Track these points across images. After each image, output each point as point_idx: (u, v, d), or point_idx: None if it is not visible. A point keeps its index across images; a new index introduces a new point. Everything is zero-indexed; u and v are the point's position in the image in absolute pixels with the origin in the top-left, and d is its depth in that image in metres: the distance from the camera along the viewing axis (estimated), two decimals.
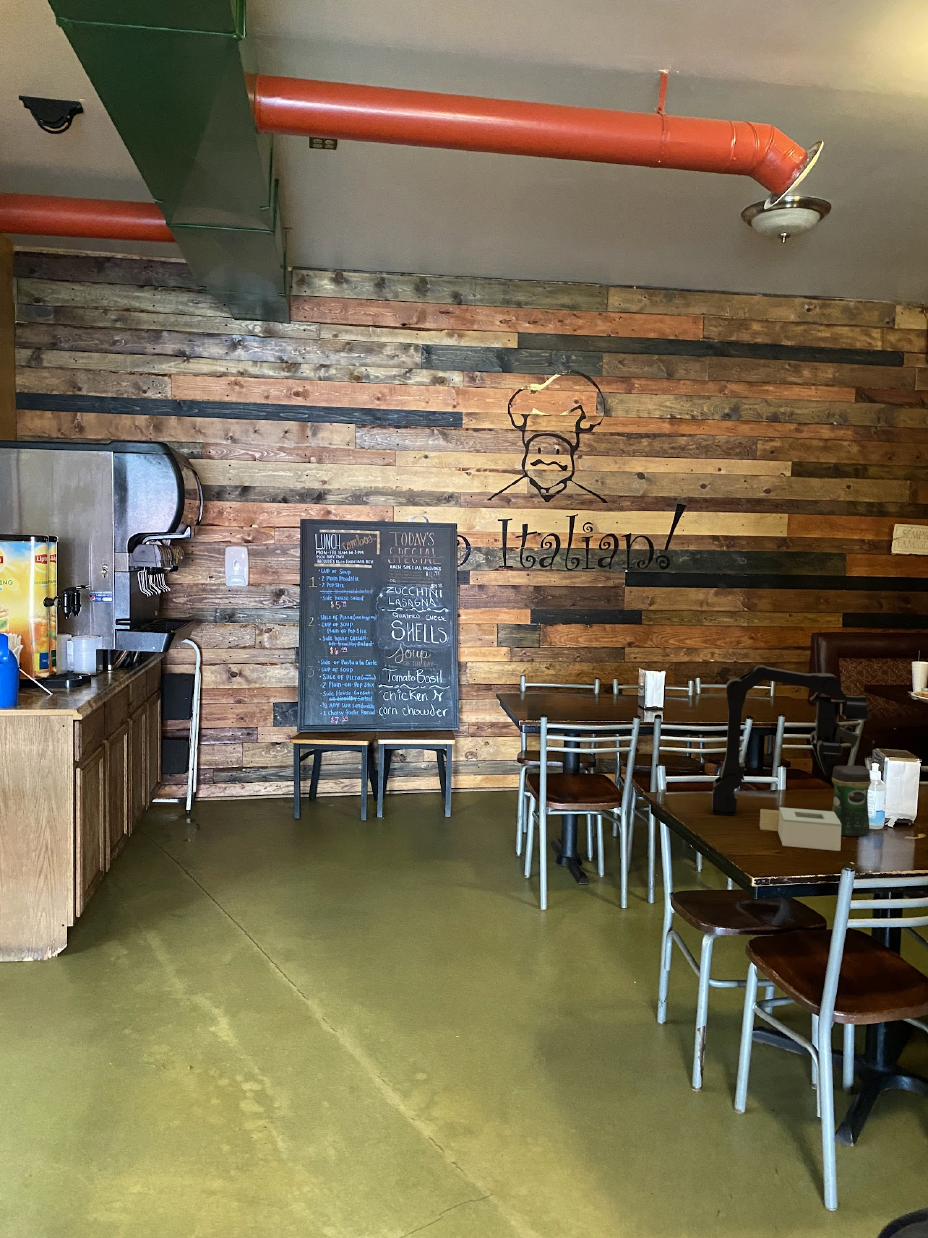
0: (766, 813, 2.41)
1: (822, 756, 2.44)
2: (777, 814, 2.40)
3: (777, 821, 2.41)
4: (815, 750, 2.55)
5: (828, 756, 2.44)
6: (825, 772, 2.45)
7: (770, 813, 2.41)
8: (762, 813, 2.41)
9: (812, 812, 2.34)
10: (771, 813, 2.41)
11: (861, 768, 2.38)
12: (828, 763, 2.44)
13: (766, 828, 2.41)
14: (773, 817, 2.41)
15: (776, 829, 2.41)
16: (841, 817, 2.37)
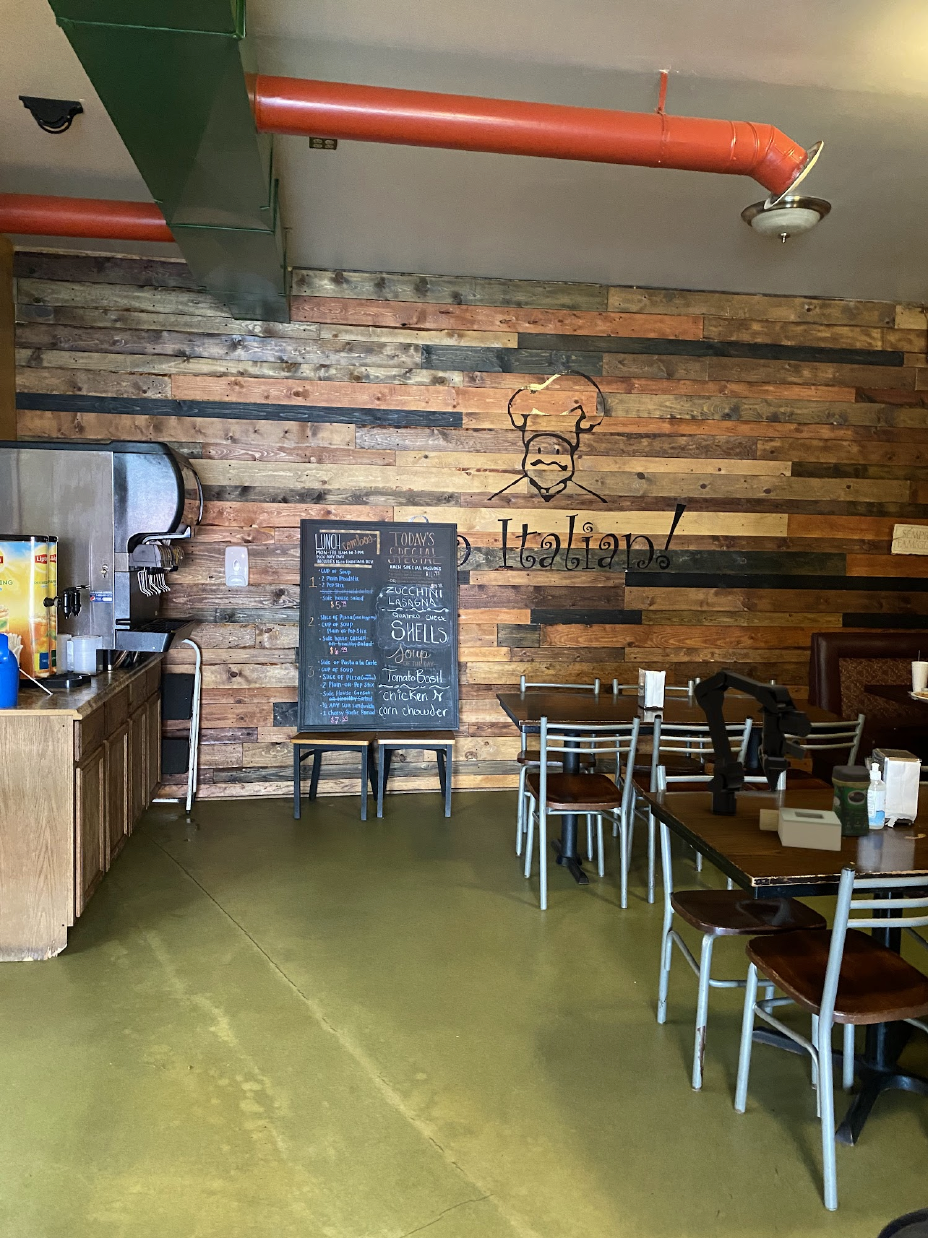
0: (766, 813, 2.41)
1: (768, 771, 2.36)
2: (777, 814, 2.41)
3: (777, 821, 2.41)
4: (763, 764, 2.47)
5: (774, 771, 2.36)
6: (771, 787, 2.37)
7: (770, 813, 2.41)
8: (762, 813, 2.42)
9: (812, 812, 2.34)
10: (771, 813, 2.41)
11: (861, 768, 2.38)
12: (774, 778, 2.36)
13: (766, 828, 2.41)
14: (772, 817, 2.41)
15: (776, 829, 2.41)
16: (841, 817, 2.37)
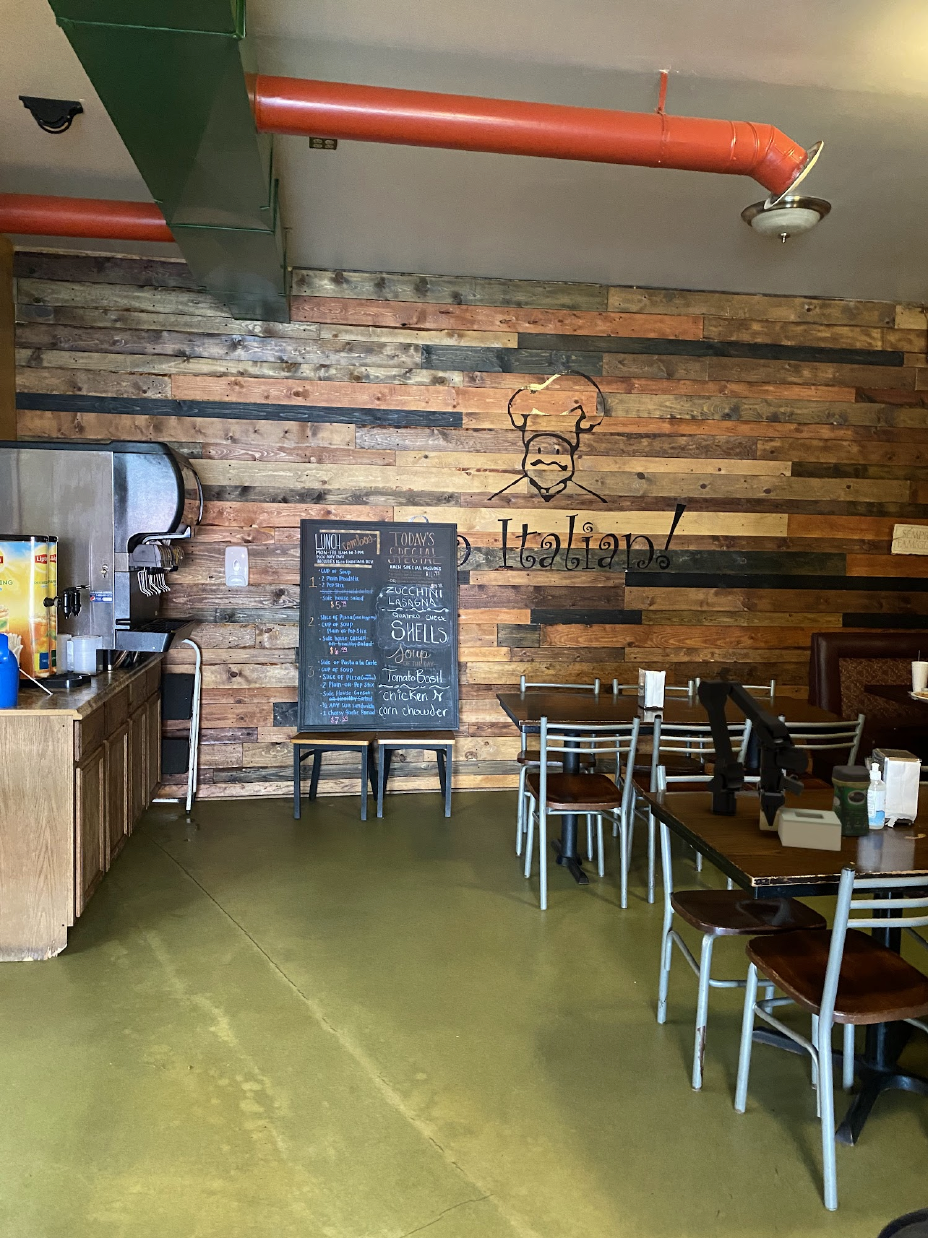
0: None
1: (765, 806, 2.37)
2: (777, 814, 2.40)
3: (777, 821, 2.41)
4: None
5: (771, 806, 2.37)
6: (768, 822, 2.38)
7: None
8: (762, 813, 2.41)
9: (812, 812, 2.34)
10: None
11: (861, 768, 2.38)
12: (771, 813, 2.37)
13: (766, 828, 2.41)
14: None
15: (776, 829, 2.41)
16: (841, 817, 2.37)
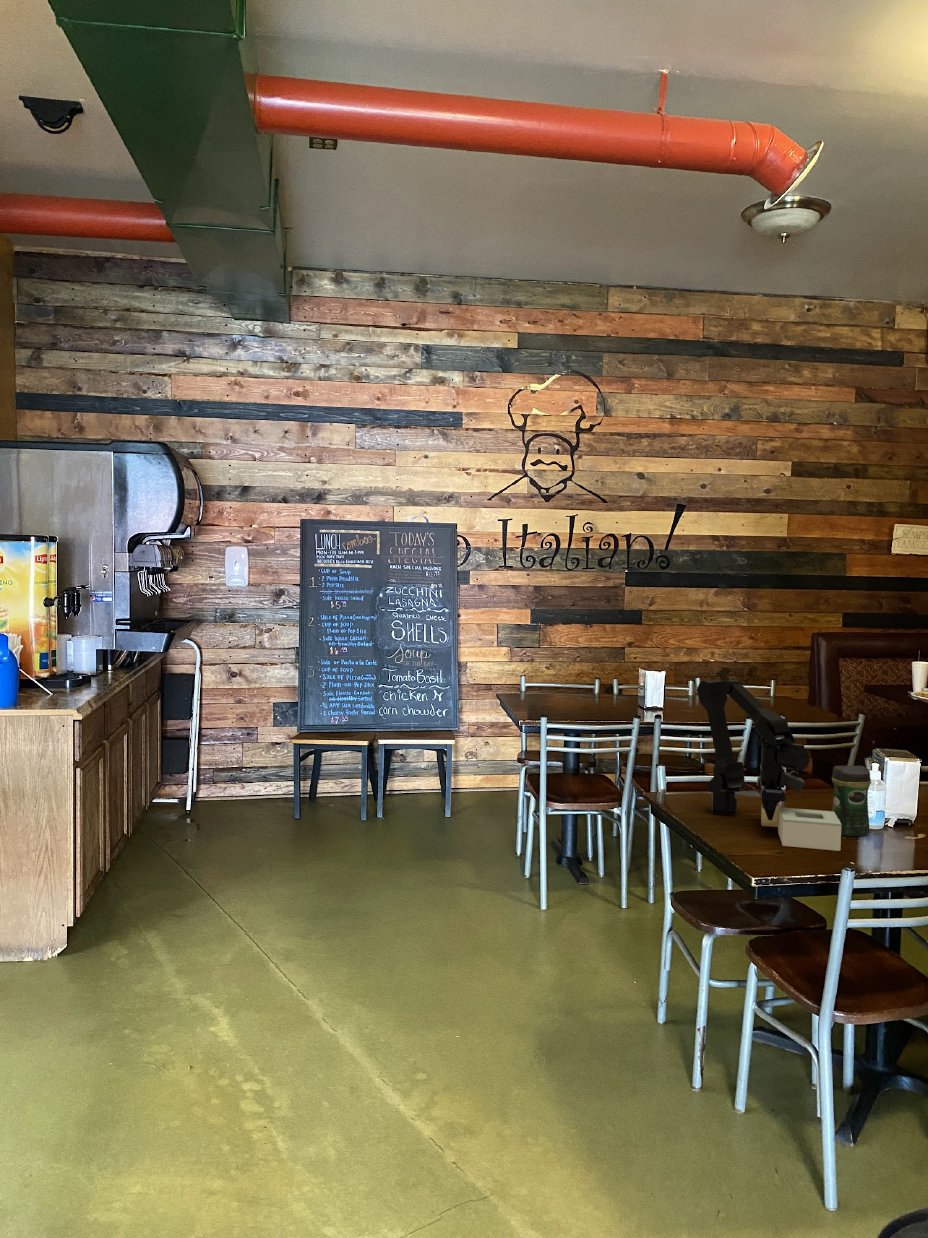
0: None
1: (765, 800, 2.39)
2: (778, 810, 2.40)
3: (778, 817, 2.40)
4: None
5: (771, 800, 2.39)
6: (768, 817, 2.40)
7: None
8: (763, 809, 2.41)
9: (812, 812, 2.34)
10: None
11: (861, 768, 2.38)
12: (771, 807, 2.39)
13: (767, 824, 2.41)
14: (774, 813, 2.40)
15: (777, 825, 2.40)
16: (841, 817, 2.37)
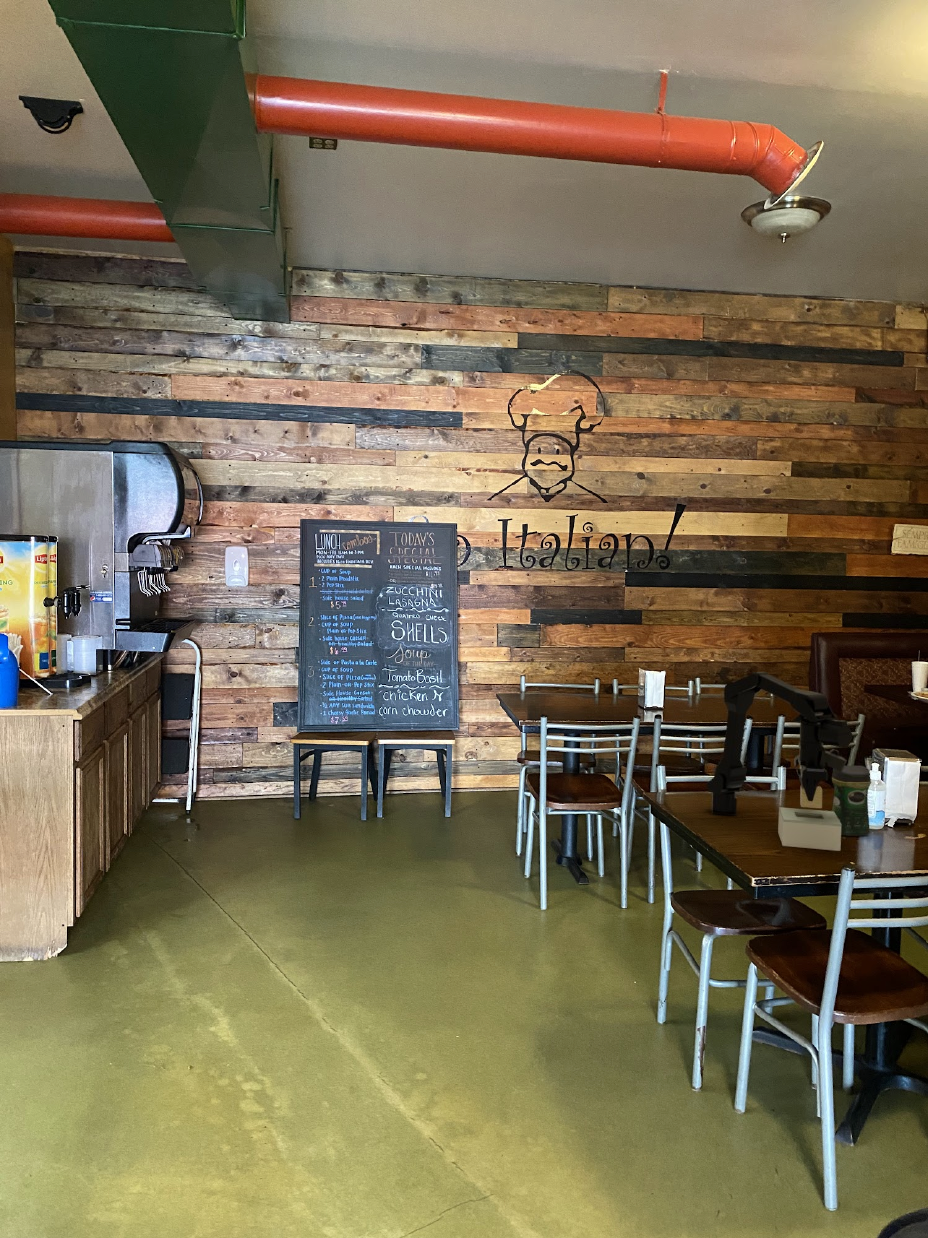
0: None
1: (805, 780, 2.28)
2: (819, 790, 2.29)
3: (819, 797, 2.29)
4: (801, 778, 2.33)
5: (811, 780, 2.28)
6: (808, 797, 2.29)
7: None
8: (803, 789, 2.30)
9: (812, 812, 2.34)
10: None
11: (861, 768, 2.38)
12: (811, 788, 2.28)
13: (807, 805, 2.30)
14: None
15: (818, 806, 2.29)
16: (841, 817, 2.37)
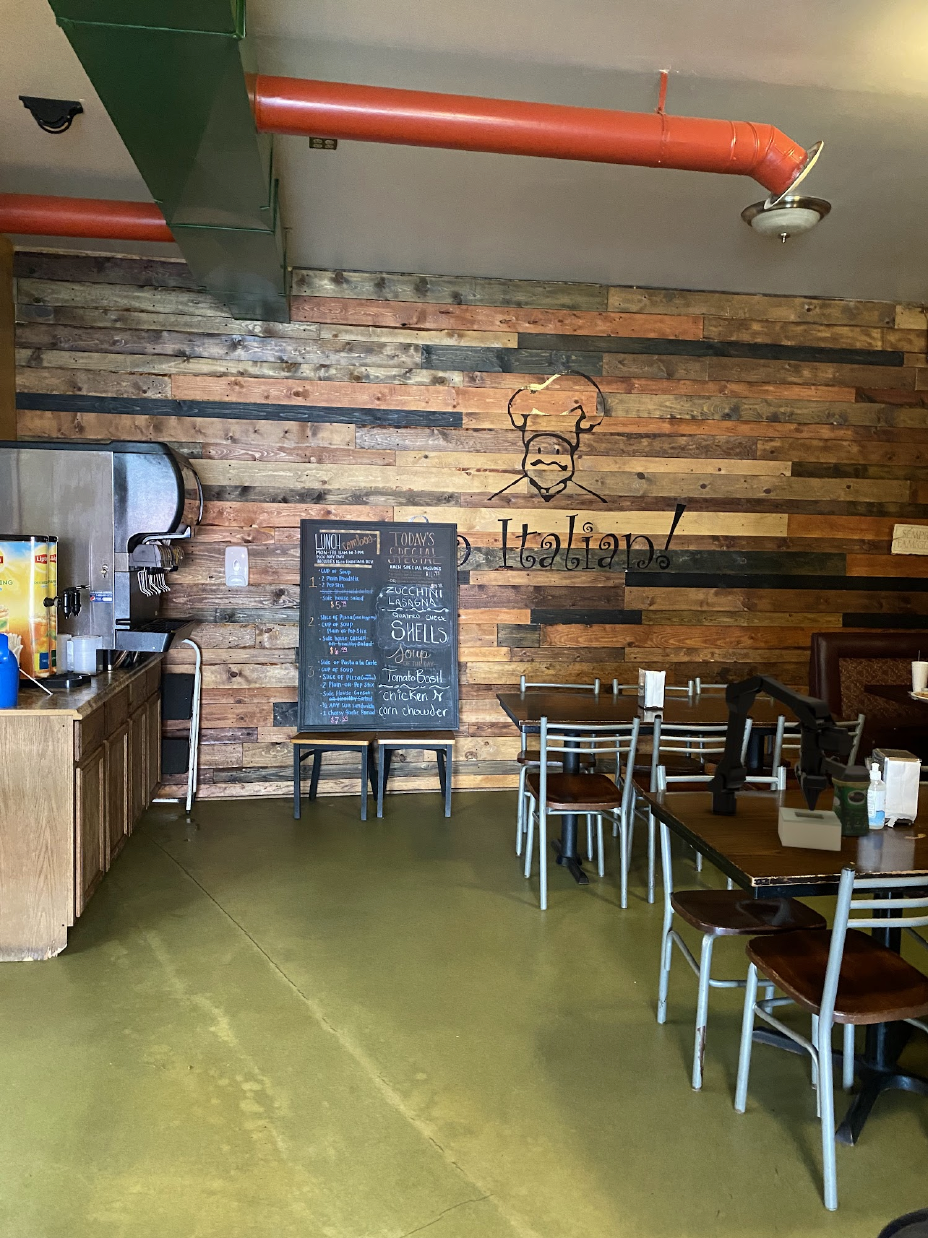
0: None
1: (806, 790, 2.25)
2: None
3: None
4: (800, 782, 2.36)
5: (813, 790, 2.25)
6: (810, 807, 2.26)
7: None
8: None
9: (812, 812, 2.34)
10: None
11: (861, 768, 2.38)
12: (813, 797, 2.25)
13: None
14: None
15: None
16: (841, 817, 2.37)
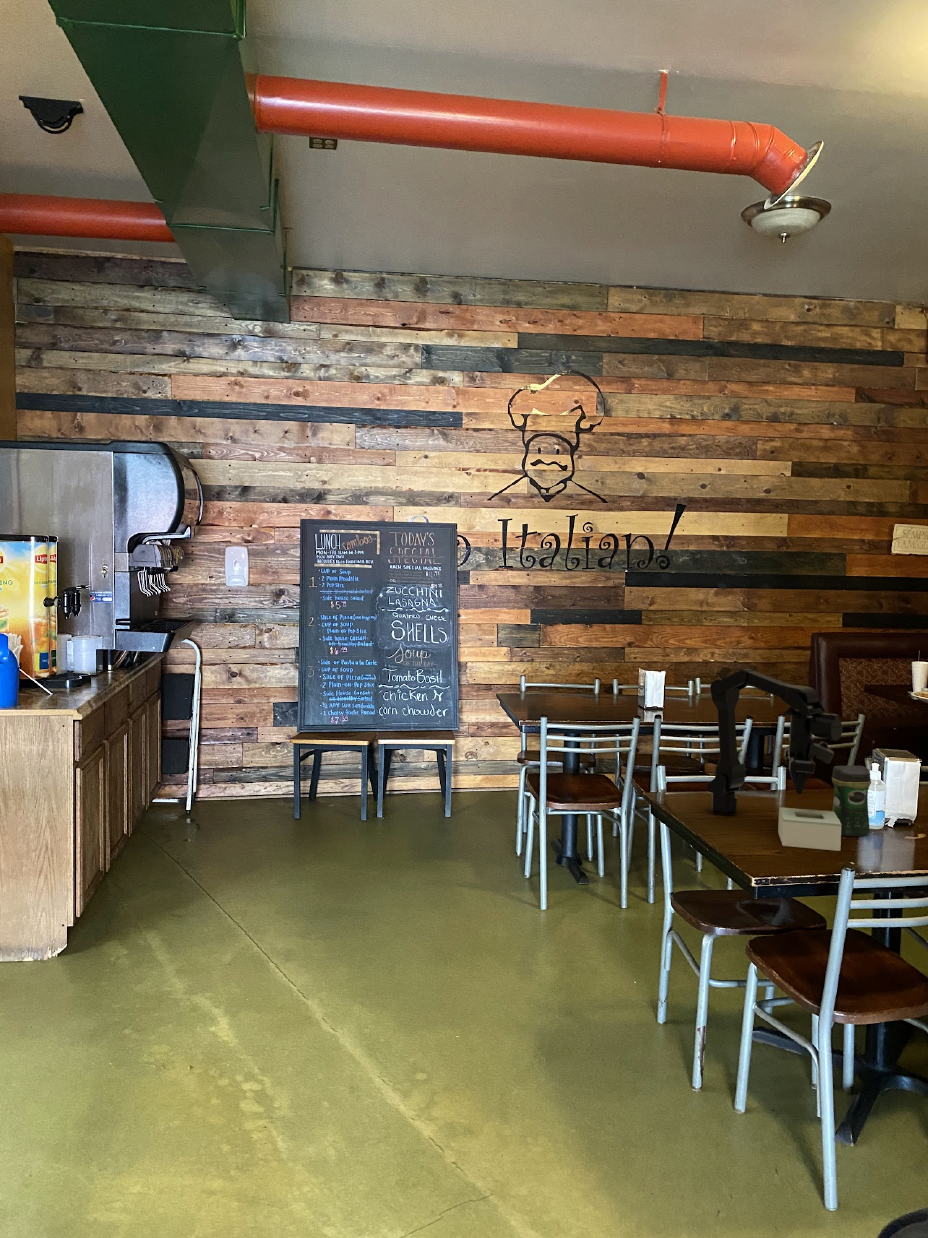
0: None
1: (794, 774, 2.32)
2: None
3: None
4: (789, 766, 2.44)
5: (800, 774, 2.33)
6: (797, 790, 2.34)
7: None
8: None
9: (812, 812, 2.34)
10: None
11: (861, 768, 2.38)
12: (800, 781, 2.33)
13: None
14: None
15: None
16: (841, 817, 2.37)
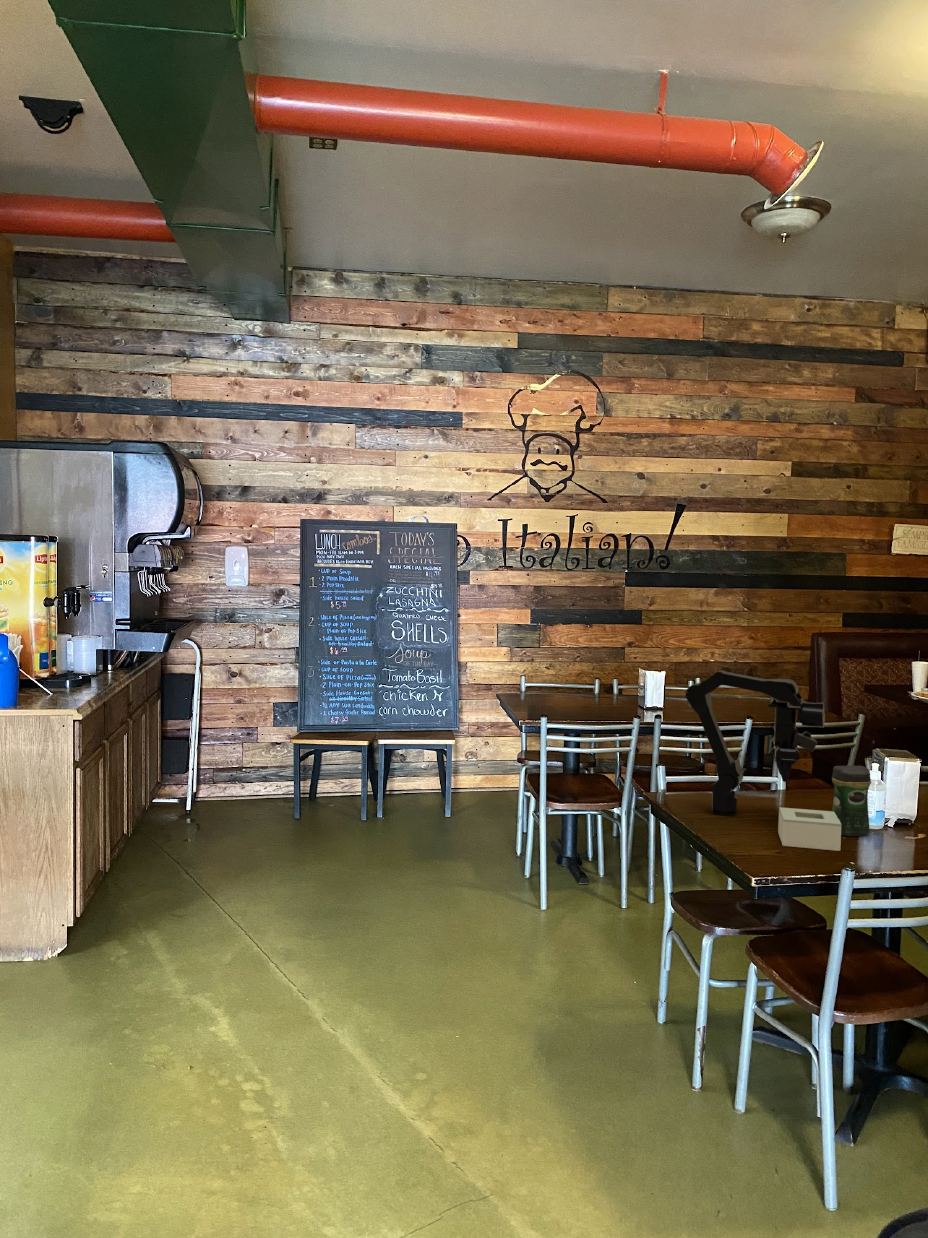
0: None
1: (779, 762, 2.43)
2: None
3: None
4: (774, 756, 2.55)
5: (786, 762, 2.44)
6: (783, 778, 2.45)
7: None
8: None
9: (812, 812, 2.34)
10: None
11: (861, 768, 2.38)
12: (786, 769, 2.44)
13: None
14: None
15: None
16: (841, 817, 2.37)
